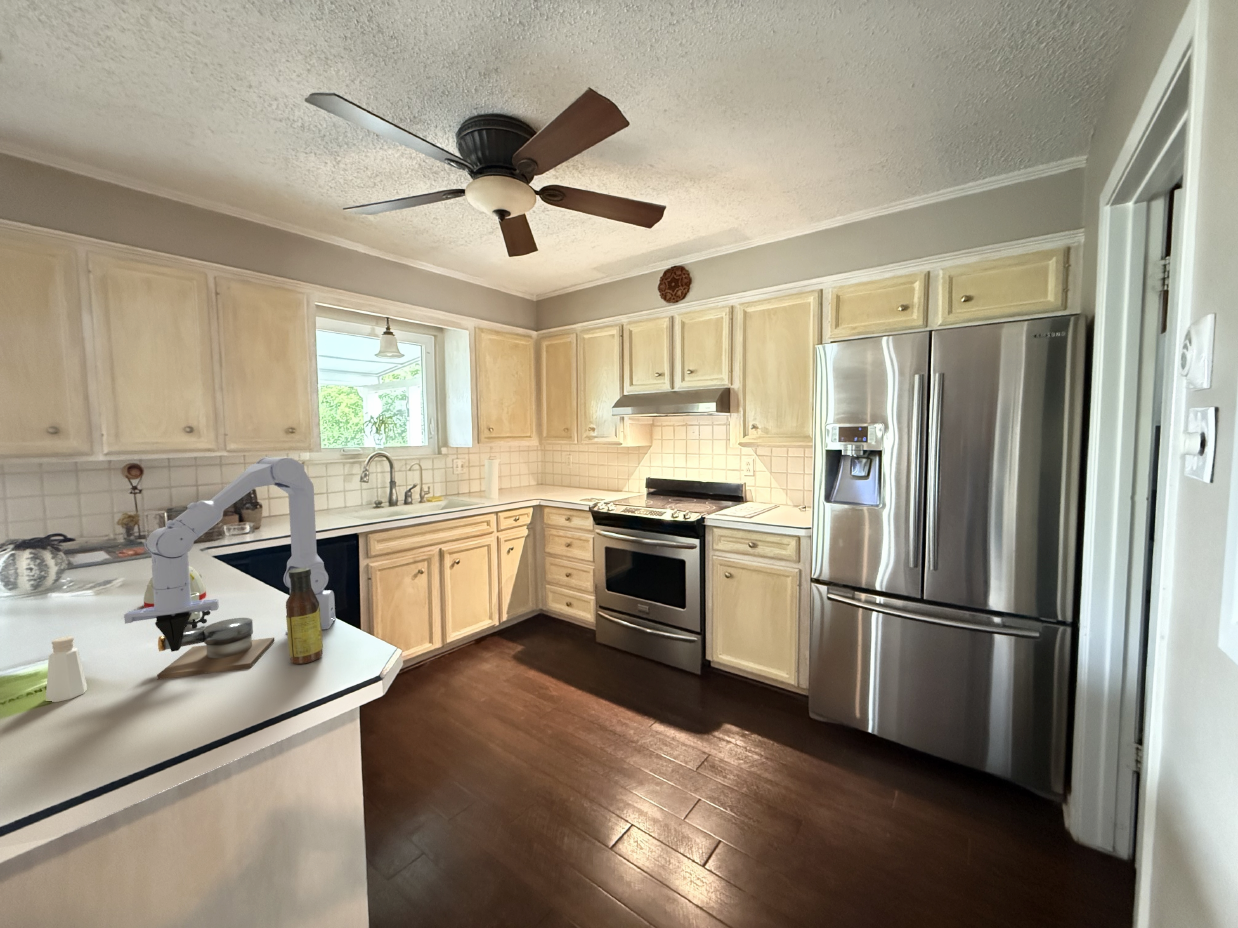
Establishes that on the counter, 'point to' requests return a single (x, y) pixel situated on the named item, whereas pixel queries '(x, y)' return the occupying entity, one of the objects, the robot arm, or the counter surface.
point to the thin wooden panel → (217, 658)
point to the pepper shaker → (65, 671)
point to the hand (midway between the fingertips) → (176, 649)
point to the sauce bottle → (303, 619)
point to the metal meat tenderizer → (215, 633)
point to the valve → (197, 613)
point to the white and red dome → (195, 587)
